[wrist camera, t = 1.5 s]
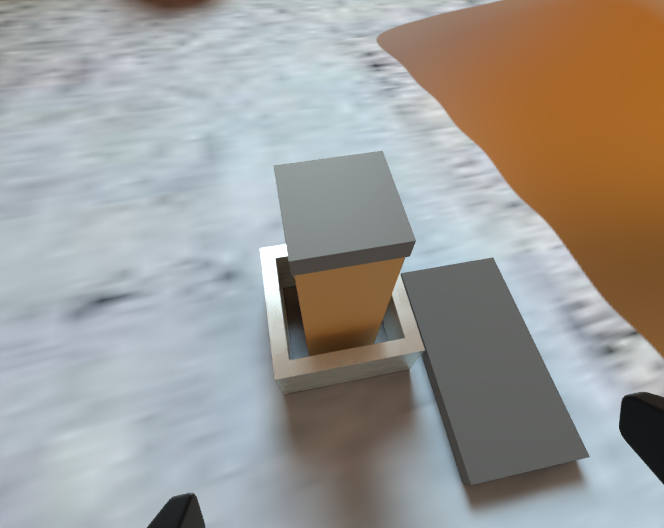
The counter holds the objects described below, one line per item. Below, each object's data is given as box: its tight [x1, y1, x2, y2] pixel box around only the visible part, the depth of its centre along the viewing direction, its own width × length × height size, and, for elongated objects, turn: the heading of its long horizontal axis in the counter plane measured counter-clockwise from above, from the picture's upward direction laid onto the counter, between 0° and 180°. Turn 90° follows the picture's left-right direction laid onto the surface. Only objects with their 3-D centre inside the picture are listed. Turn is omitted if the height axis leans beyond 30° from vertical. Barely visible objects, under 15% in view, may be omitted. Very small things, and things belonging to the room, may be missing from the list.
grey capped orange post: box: [274, 151, 416, 356], centre depth 18 cm, size 4×4×12 cm
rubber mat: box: [401, 258, 590, 485], centre depth 21 cm, size 12×6×1 cm, turn 11°
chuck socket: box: [260, 245, 425, 394], centre depth 21 cm, size 8×8×4 cm
